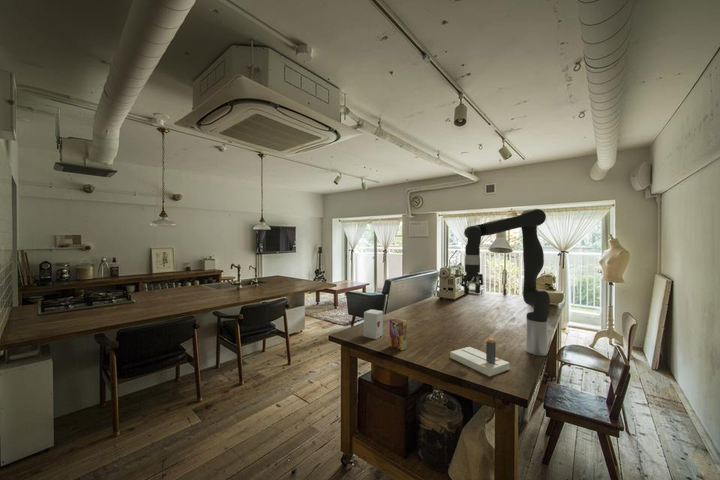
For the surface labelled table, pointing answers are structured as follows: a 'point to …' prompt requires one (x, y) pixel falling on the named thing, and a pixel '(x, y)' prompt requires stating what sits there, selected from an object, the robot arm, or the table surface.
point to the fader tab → (490, 350)
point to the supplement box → (373, 324)
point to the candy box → (398, 333)
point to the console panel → (479, 361)
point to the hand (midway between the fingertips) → (472, 294)
